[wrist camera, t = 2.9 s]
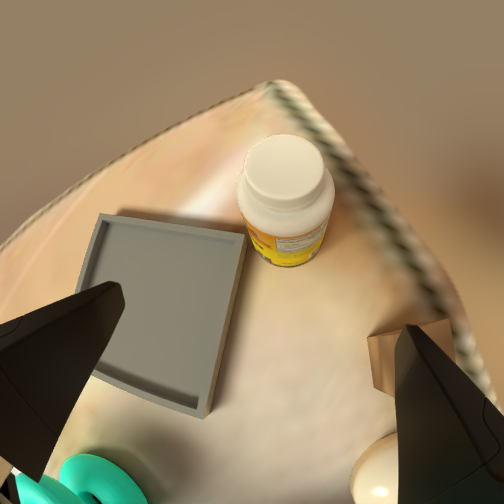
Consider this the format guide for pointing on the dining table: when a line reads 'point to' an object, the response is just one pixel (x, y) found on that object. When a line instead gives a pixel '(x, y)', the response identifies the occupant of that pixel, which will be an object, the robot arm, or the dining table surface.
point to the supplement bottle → (285, 199)
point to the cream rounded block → (376, 473)
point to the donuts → (82, 484)
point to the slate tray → (166, 306)
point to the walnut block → (384, 351)
